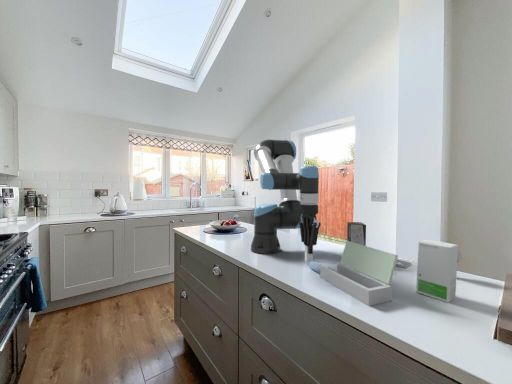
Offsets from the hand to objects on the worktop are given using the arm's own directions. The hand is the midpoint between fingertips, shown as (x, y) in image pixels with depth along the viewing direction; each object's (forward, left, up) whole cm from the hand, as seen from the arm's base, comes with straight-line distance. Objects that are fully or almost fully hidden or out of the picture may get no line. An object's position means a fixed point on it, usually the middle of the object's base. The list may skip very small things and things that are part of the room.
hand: (308, 260), depth 97 cm
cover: (+24, +6, +7) cm, 25 cm away
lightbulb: (+29, +40, -2) cm, 49 cm away
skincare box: (+37, +20, -2) cm, 42 cm away
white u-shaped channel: (+24, 0, -1) cm, 24 cm away
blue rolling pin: (+10, 0, -1) cm, 10 cm away
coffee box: (+1, +24, -2) cm, 24 cm away
